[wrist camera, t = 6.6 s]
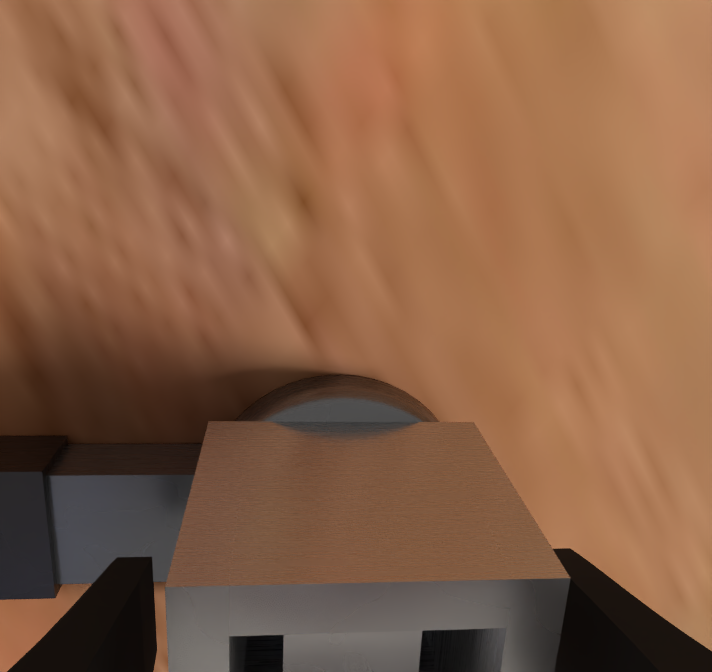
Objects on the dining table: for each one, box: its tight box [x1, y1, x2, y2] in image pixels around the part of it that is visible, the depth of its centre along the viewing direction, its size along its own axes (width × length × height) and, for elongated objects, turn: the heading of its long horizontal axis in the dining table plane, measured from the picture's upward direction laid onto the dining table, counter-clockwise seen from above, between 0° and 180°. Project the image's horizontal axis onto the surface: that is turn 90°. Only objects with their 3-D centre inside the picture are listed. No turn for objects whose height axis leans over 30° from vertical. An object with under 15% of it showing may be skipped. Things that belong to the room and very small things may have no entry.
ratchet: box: [0, 375, 439, 672], centre depth 13 cm, size 14×6×5 cm, turn 87°
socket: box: [165, 421, 570, 672], centre depth 12 cm, size 5×5×5 cm
